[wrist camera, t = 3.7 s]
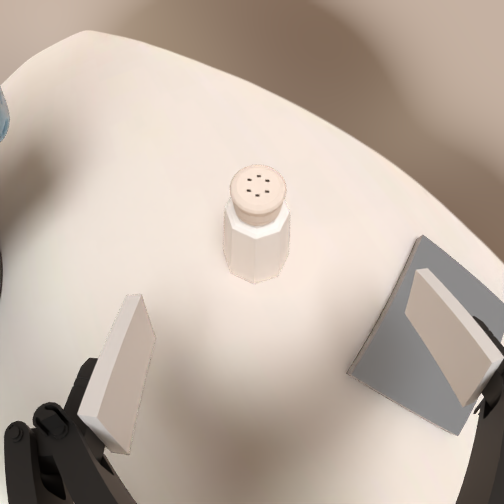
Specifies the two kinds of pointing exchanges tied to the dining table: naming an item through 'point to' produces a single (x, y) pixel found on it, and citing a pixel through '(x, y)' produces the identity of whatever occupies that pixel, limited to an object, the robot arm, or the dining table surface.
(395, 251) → the dining table surface
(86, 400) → the robot arm
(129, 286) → the dining table surface
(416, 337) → the plate
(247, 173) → the salt shaker
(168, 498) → the dining table surface
